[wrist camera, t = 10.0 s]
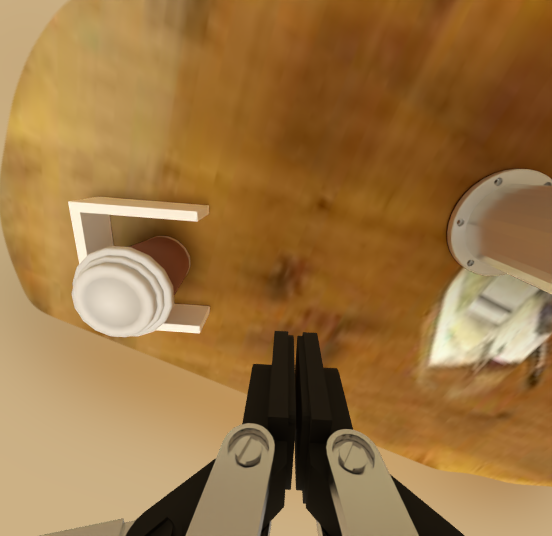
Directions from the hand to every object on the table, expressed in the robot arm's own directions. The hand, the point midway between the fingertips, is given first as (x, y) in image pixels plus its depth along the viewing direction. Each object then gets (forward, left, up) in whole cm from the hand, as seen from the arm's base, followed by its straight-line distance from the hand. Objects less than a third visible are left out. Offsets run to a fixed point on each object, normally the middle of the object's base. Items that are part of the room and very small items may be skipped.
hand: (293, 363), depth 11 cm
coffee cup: (+15, +5, -24) cm, 29 cm away
